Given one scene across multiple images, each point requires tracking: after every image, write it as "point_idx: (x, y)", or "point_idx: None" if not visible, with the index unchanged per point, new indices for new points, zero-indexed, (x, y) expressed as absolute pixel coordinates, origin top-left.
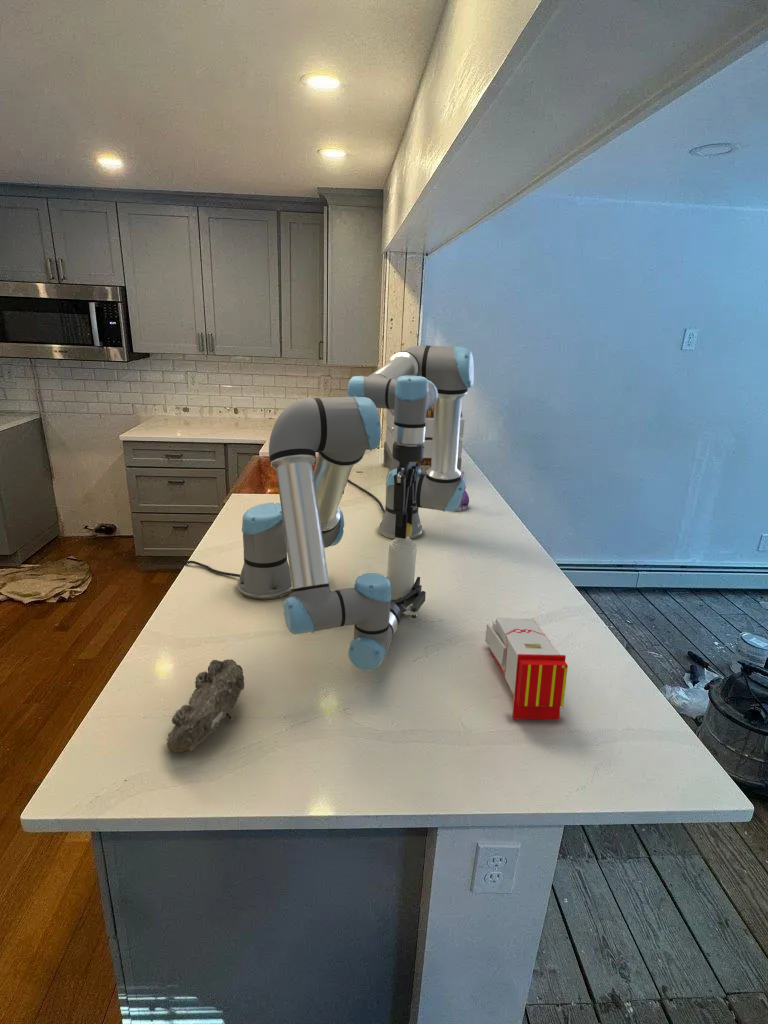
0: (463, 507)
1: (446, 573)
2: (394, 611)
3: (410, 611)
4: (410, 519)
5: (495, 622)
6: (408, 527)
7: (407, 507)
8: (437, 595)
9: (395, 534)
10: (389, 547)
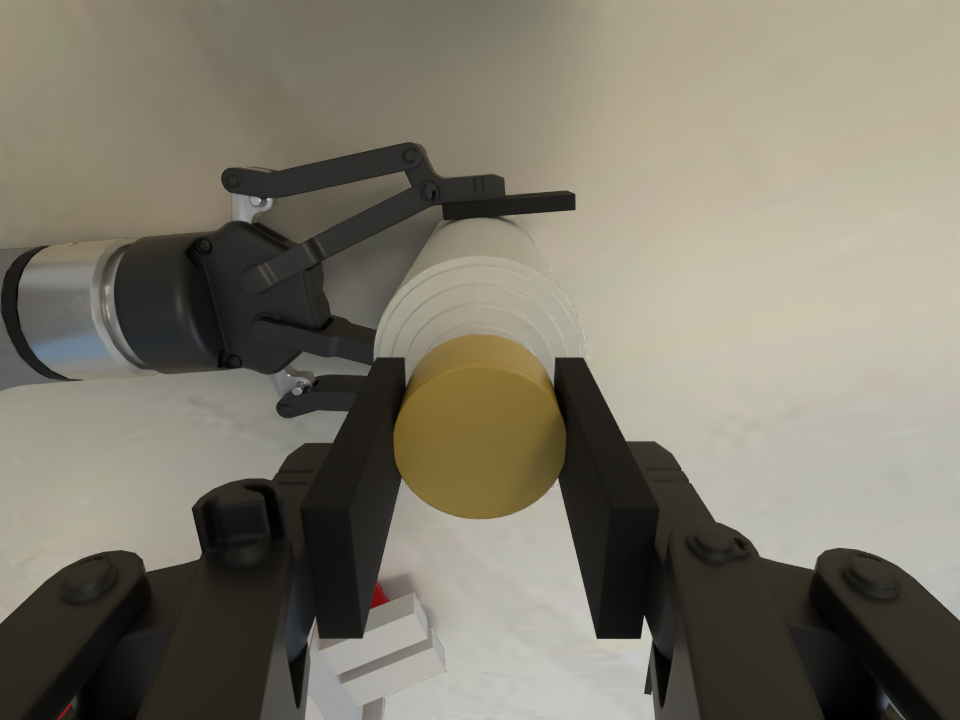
0: None
1: (858, 354)
2: (151, 367)
3: (277, 391)
4: (570, 513)
5: (400, 623)
6: (443, 500)
7: (601, 583)
8: (646, 366)
9: (372, 372)
10: (412, 277)
